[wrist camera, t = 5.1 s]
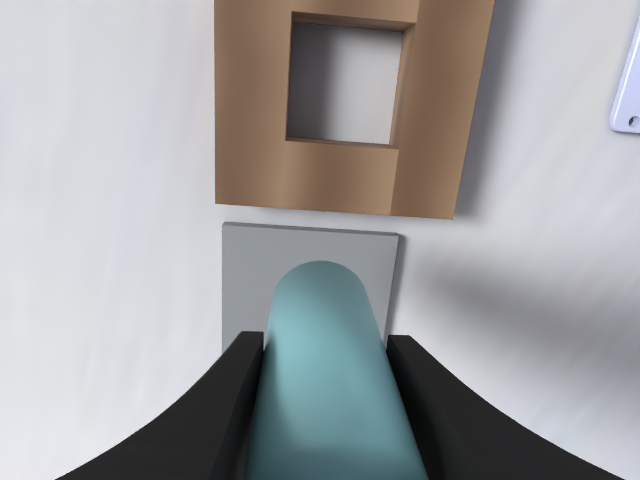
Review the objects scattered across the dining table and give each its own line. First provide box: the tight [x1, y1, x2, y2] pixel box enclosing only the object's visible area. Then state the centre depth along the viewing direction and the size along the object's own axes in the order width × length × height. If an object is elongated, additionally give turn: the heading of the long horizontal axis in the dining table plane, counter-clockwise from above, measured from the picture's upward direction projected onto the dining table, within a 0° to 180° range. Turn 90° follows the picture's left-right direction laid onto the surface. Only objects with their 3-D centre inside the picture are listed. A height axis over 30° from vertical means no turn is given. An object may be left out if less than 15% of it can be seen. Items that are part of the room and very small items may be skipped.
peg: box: [243, 261, 429, 480], centre depth 11 cm, size 4×4×8 cm
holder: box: [214, 0, 495, 220], centre depth 18 cm, size 11×11×2 cm
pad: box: [222, 222, 399, 354], centre depth 22 cm, size 9×10×1 cm
